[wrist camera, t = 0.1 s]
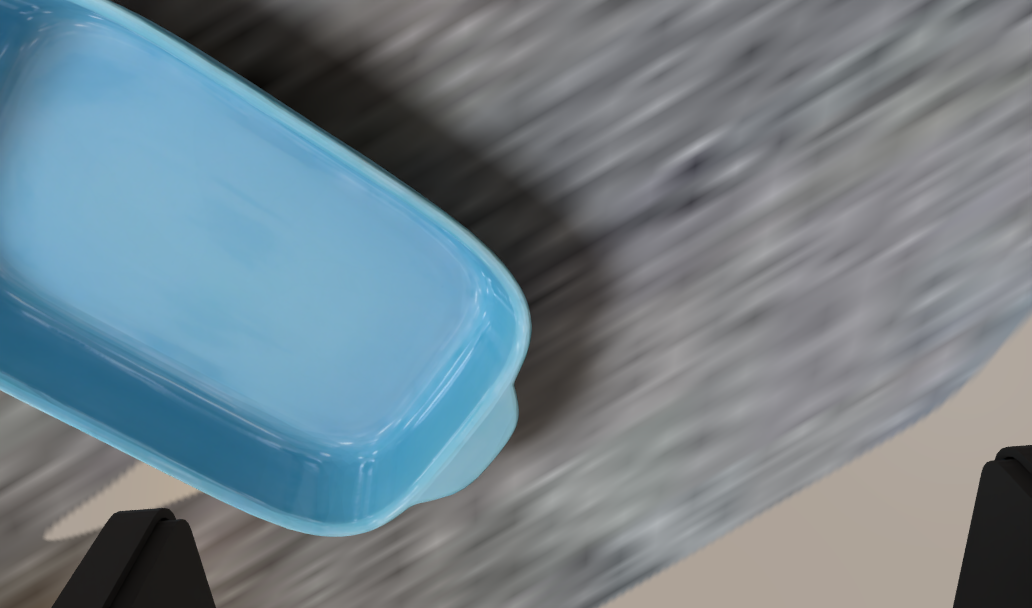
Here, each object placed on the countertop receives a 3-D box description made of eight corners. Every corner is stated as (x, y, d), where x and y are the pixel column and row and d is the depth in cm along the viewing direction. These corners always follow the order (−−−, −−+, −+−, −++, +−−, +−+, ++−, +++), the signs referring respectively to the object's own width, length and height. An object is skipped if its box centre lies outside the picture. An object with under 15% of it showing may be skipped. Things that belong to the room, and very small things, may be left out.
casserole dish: (599, 273, 49) (614, 327, 43) (402, 514, 57) (389, 591, 50) (-2, -130, 39) (-100, -138, 33) (-142, 227, 47) (-244, 277, 40)
